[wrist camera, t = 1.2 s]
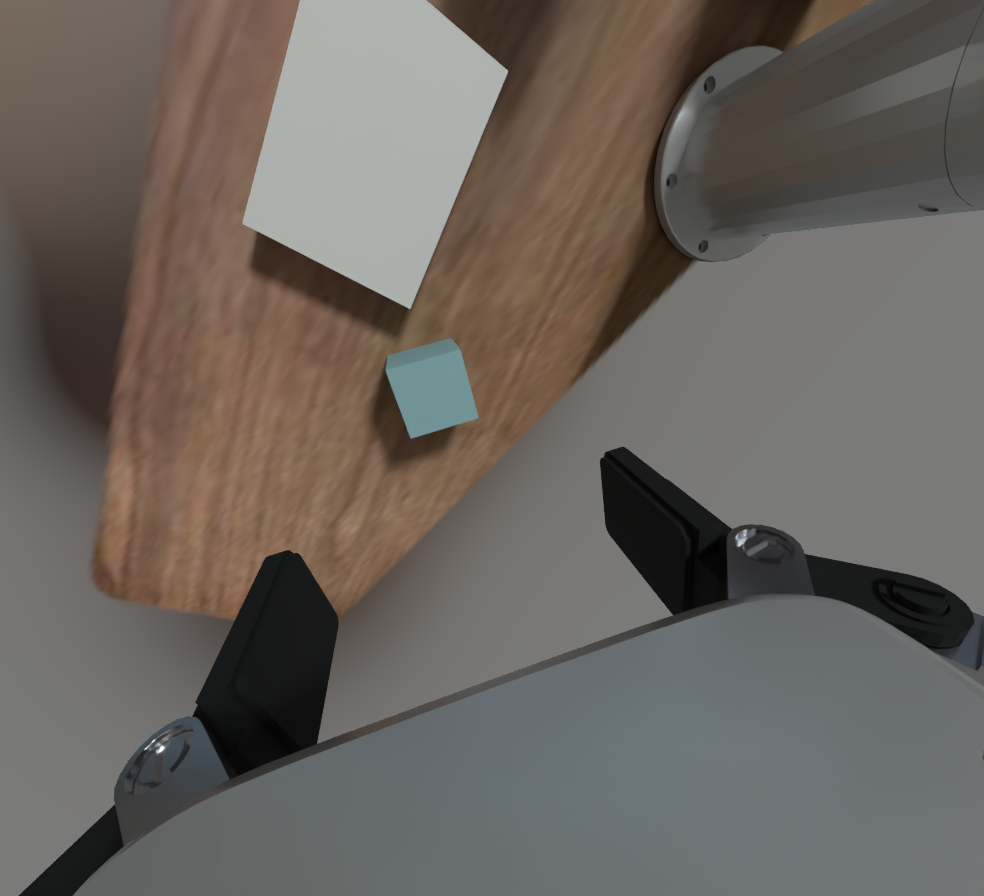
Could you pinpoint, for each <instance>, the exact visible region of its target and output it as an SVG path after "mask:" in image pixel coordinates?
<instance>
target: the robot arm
mask: <svg viewBox="0 0 984 896" xmlns="http://www.w3.org/2000/svg"><path fill="white" fill-rule="evenodd" d="M654 195H655V203H656V210H657V213H658V217H659V220H660V223H661V226H662V228H663V230H664V232H665V234H666V235H667V237H668V239H669V240H670V241H671V243H672V244H673V245H674V246H675V247H676V248H677V249H678V250H679V251H680V252H682V253H683V254H685V255H686V256H687V257H690V258H693V259H695V260H698V261H707V262H716V261H727V260H731V259H734V258H738V257H740V256H742V255H744V254H746V253H748V252H750V251H752V250H753V249H755V248H756V247H757V246H758V245H760V244H761V243H763V242H764V241H765V240H766V239H767V238H768V237H769V236H770V235H771V234H773V233H782V232H791V231H800V230H809V229H817V228H827V227H834V226H835V227H836V226H844V225H853V224H862V223H871V222H880V221H889V220H897V219H906V218H915V217H924V216H933V215H941V214H950V213H959V212H968V211H977V210H984V0H874V1H872V2H870V3H869V4H867V5H865V6H863V7H862V8H860V9H858V10H856V11H855V12H853V13H851V14H850V15H848V16H846V17H844V18H843V19H841V20H839V21H838V22H836V23H834V24H832V25H831V26H829V27H827V28H825V29H824V30H822V31H820V32H819V33H817V34H815V35H813V36H812V37H810V38H808V39H807V40H805V41H803V42H801V43H800V44H798V45H796V46H794V47H793V48H791V49H789V50H788V51H786V52H783V51H781V50H780V49H778V48H774V47H770V46H766V45H755V46H746V47H743V48H741V49H738V50H735V51H732V52H730V53H729V54H727V55H726V56H724V57H722V58H721V59H719V60H718V61H716V62H714V63H713V64H712V65H711V66H709V67H708V68H707V69H706V70H704V71H703V72H702V73H701V74H699V75H698V76H697V77H696V79H695V80H694V81H693V82H692V83H691V84H690V85H689V87H688V88H687V89H686V90H685V91H684V93H683V94H682V96H681V98H680V99H679V101H678V102H677V104H676V106H675V107H674V109H673V111H672V113H671V115H670V117H669V120H668V122H667V124H666V126H665V128H664V131H663V135H662V138H661V141H660V145H659V148H658V152H657V158H656V164H655V171H654ZM600 467H601V479H602V490H603V502H604V512H605V524H606V528H607V531H608V533H609V534H610V536H611V537H612V539H613V540H614V541H615V542H616V544H617V545H618V546H619V547H620V549H621V550H622V551H623V553H624V554H625V555H626V556H627V558H628V559H629V560H630V561H631V562H632V564H633V565H634V566H635V568H636V569H637V570H638V571H639V573H640V574H641V575H642V577H643V578H644V579H645V580H646V581H647V583H648V584H649V585H650V587H651V588H652V589H653V590H654V592H655V593H656V594H657V595H658V597H659V598H660V599H661V600H662V602H663V603H664V604H665V605H666V607H667V608H668V609H669V610H670V612H671V613H672V614H673V616H670V617H667V618H664V619H661V620H658V621H656V622H652V623H650V624H647V625H643V626H640V627H637V628H635V629H632V630H629V631H626V632H624V633H621V634H618V635H615V636H612V637H609V638H606V639H604V640H601V641H599V642H595V643H592V644H590V645H587V646H584V647H582V648H578V649H576V650H573V651H570V652H567V653H564V654H562V655H559V656H556V657H553V658H550V659H548V660H545V661H542V662H539V663H537V664H534V665H531V666H528V667H526V668H523V669H520V670H517V671H514V672H512V673H509V674H506V675H503V676H501V677H498V678H495V679H492V680H490V681H487V682H484V683H481V684H479V685H476V686H473V687H470V688H468V689H465V690H462V691H459V692H457V693H454V694H451V695H448V696H446V697H443V698H440V699H437V700H435V701H432V702H429V703H426V704H424V705H421V706H418V707H416V708H413V709H410V710H407V711H405V712H402V713H399V714H397V715H394V716H391V717H388V718H386V719H383V720H380V721H378V722H375V723H372V724H370V725H367V726H364V727H361V728H359V729H356V730H354V731H350V732H348V733H345V734H343V735H340V736H337V737H334V738H332V739H329V740H326V741H324V742H321V743H319V744H317V740H318V735H319V729H320V724H321V719H322V713H323V708H324V702H325V697H326V691H327V686H328V680H329V675H330V669H331V663H332V658H333V653H334V647H335V642H336V636H337V631H338V617H337V614H336V612H335V610H334V609H333V607H332V606H331V604H330V602H329V601H328V599H327V598H326V596H325V594H324V593H323V591H322V589H321V588H320V586H319V585H318V583H317V581H316V580H315V578H314V577H313V575H312V573H311V572H310V570H309V568H308V567H307V565H306V564H305V562H304V560H303V559H302V557H301V556H300V554H298V553H294V554H293V552H291V551H290V550H287V551H283V552H280V553H277V554H274V555H270V556H268V557H266V558H265V560H264V561H263V564H262V566H261V568H260V570H259V572H258V574H257V576H256V578H255V580H254V582H253V584H252V586H251V588H250V590H249V592H248V595H247V597H246V599H245V601H244V603H243V605H242V607H241V609H240V611H239V613H238V615H237V617H236V619H235V621H234V624H233V626H232V628H231V630H230V632H229V634H228V636H227V638H226V640H225V642H224V644H223V646H222V648H221V650H220V653H219V655H218V657H217V659H216V661H215V663H214V665H213V667H212V669H211V671H210V673H209V676H208V678H207V680H206V682H205V684H204V686H203V688H202V690H201V692H200V694H199V696H198V698H197V700H196V703H197V704H198V706H197V708H196V710H195V712H194V714H193V716H192V717H189V716H187V717H184V718H180V719H177V720H175V721H173V722H171V723H169V724H167V725H165V726H164V727H163V728H161V729H160V730H159V731H158V732H156V733H155V734H153V735H152V736H151V737H150V738H149V739H148V740H147V741H146V742H144V743H143V744H142V745H141V746H140V747H139V748H138V750H137V751H136V752H135V754H134V755H133V756H132V757H131V758H130V759H129V761H128V763H127V764H126V765H125V767H124V769H123V770H122V772H121V773H120V775H119V778H118V780H117V783H116V786H115V789H114V801H115V805H114V806H113V807H112V808H111V809H110V810H109V811H107V813H106V814H105V815H103V816H102V817H101V818H100V819H99V820H98V821H97V822H96V823H95V824H94V825H93V826H92V827H91V828H90V829H89V830H87V831H86V832H85V833H84V834H83V835H82V836H81V837H80V838H79V839H78V840H77V841H76V842H75V843H74V844H73V845H72V846H71V847H70V848H68V849H67V850H66V851H65V852H64V853H63V854H62V855H61V856H60V857H59V858H58V859H57V860H56V861H55V862H54V863H53V864H52V865H51V866H50V867H48V868H47V869H46V870H45V871H44V872H43V873H42V874H41V875H40V876H39V877H38V878H37V879H36V880H35V881H34V882H33V883H32V884H31V885H29V887H28V888H26V889H25V890H24V891H23V892H22V893H21V894H20V895H19V896H984V616H981V615H979V614H976V613H973V612H972V611H971V610H970V609H969V607H968V606H967V604H966V603H965V602H963V601H962V600H961V599H960V598H959V597H957V596H956V595H955V594H953V593H952V592H950V591H948V590H947V589H945V588H943V587H942V586H940V585H937V584H935V583H933V582H930V581H928V580H925V579H923V578H919V577H916V576H912V575H908V574H903V573H898V572H893V571H888V570H883V569H878V568H873V567H868V566H862V565H857V564H852V563H847V562H842V561H837V560H832V559H827V558H822V557H817V556H812V555H807V554H805V553H804V550H803V549H802V547H801V545H800V543H799V542H797V541H796V540H795V539H794V538H793V537H792V536H790V535H788V534H786V533H785V532H783V531H781V530H778V529H776V528H773V527H769V526H764V525H753V524H749V525H742V526H739V527H736V528H734V529H731V528H730V527H728V526H727V525H726V524H725V523H723V522H722V521H721V520H720V519H718V518H717V517H716V516H714V515H713V514H712V513H710V512H709V511H708V510H707V509H705V508H704V507H703V506H701V505H700V504H699V503H698V502H696V501H695V500H694V499H692V498H691V497H690V496H688V495H687V494H686V493H685V492H683V491H682V490H681V489H680V488H678V487H677V486H675V485H674V484H673V483H672V482H670V481H669V480H667V479H665V478H664V477H662V476H661V475H660V474H659V473H657V472H656V471H655V470H653V469H652V468H651V467H649V466H648V465H647V464H646V463H644V462H643V461H642V460H641V459H639V458H638V457H637V456H636V455H634V454H633V453H632V452H630V451H629V450H628V449H626V448H625V447H620V448H617V449H614V450H611V451H607V452H606V453H605V455H604V458H601V460H600Z"/></svg>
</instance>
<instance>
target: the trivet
mask: <svg viewBox="0 0 984 896" xmlns="http://www.w3.org/2000/svg"><path fill="white" fill-rule="evenodd" d="M507 73H508V70H507V69H505V68H504V67H503V66H502V65H501V64H500V63H499V62H497V61H496V60H495V59H494V58H493V57H492V56H490V55H489V54H488V53H487V52H486V51H485V50H483V49H482V48H481V47H480V46H479V45H478V44H476V43H475V42H474V41H473V40H472V39H471V38H469V37H468V36H467V35H466V34H465V33H464V32H463V31H461V30H460V29H459V28H458V27H457V26H456V25H454V24H453V23H452V22H451V21H450V20H449V19H447V18H446V17H445V16H444V15H443V14H442V13H440V12H439V11H438V10H437V9H436V8H435V7H433V6H432V5H431V4H430V3H429V2H428V1H426V0H300V3H299V7H298V11H297V15H296V19H295V22H294V26H293V30H292V34H291V38H290V42H289V46H288V49H287V53H286V57H285V61H284V65H283V69H282V73H281V77H280V80H279V84H278V88H277V92H276V96H275V100H274V104H273V107H272V111H271V115H270V119H269V123H268V127H267V131H266V134H265V138H264V142H263V146H262V150H261V154H260V158H259V161H258V165H257V169H256V173H255V177H254V181H253V185H252V188H251V192H250V196H249V200H248V204H247V208H246V212H245V215H244V219H243V223H242V224H244V225H246V226H248V227H250V228H252V229H254V230H256V231H258V232H260V233H262V234H264V235H266V236H268V237H270V238H271V239H273V240H275V241H277V242H279V243H281V244H283V245H285V246H287V247H289V248H291V249H293V250H295V251H297V252H299V253H301V254H303V255H305V256H307V257H309V258H311V259H313V260H315V261H317V262H319V263H321V264H323V265H324V266H326V267H328V268H330V269H332V270H334V271H336V272H338V273H340V274H342V275H344V276H346V277H348V278H350V279H352V280H354V281H356V282H358V283H360V284H362V285H364V286H366V287H368V288H370V289H372V290H374V291H376V292H377V293H379V294H381V295H383V296H385V297H387V298H389V299H391V300H393V301H395V302H397V303H399V304H401V305H403V306H405V307H407V308H409V309H410V308H411V306H412V303H413V301H414V299H415V296H416V294H417V291H418V289H419V286H420V284H421V282H422V279H423V277H424V274H425V272H426V270H427V267H428V265H429V262H430V260H431V257H432V255H433V253H434V250H435V248H436V245H437V243H438V240H439V238H440V236H441V233H442V231H443V228H444V226H445V223H446V221H447V219H448V216H449V214H450V211H451V209H452V207H453V204H454V202H455V199H456V197H457V194H458V192H459V190H460V187H461V185H462V182H463V180H464V177H465V175H466V173H467V170H468V168H469V165H470V163H471V160H472V158H473V156H474V153H475V151H476V148H477V146H478V144H479V141H480V139H481V136H482V134H483V131H484V129H485V127H486V124H487V122H488V119H489V117H490V114H491V112H492V110H493V107H494V105H495V102H496V100H497V97H498V95H499V93H500V90H501V88H502V85H503V83H504V80H505V78H506V76H507Z"/></svg>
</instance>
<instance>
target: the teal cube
mask: <svg viewBox="0 0 984 896" xmlns="http://www.w3.org/2000/svg"><path fill="white" fill-rule="evenodd" d="M385 371H386V373H387V376H388V379H389V382H390V384H391V387H392V390H393V392H394V395H395V398H396V400H397V403H398V406H399V409H400V411H401V414H402V417H403V419H404V422H405V425H406V427H407V430H408V433H409V436H410V438H411V439H412V438H415V437H418V436H421V435H425V434H428V433H431V432H435V431H438V430H441V429H444V428H448V427H451V426H454V425H458V424H461V423H464V422H467V421H471V420H474V419H477V418H478V414H477V410H476V407H475V403H474V399H473V395H472V392H471V388H470V384H469V380H468V376H467V373H466V369H465V365H464V361H463V358H462V354H461V350H460V348H459V347H458V346H457V345H456V344H455V342H454V341H453V340H452V339H451V338H449V339H446V340H442V341H439V342H435V343H431V344H428V345H424V346H421V347H417V348H413V349H410V350H406V351H403V352H399V353H395V354H392V355H388V356H387V363H386V370H385Z"/></svg>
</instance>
